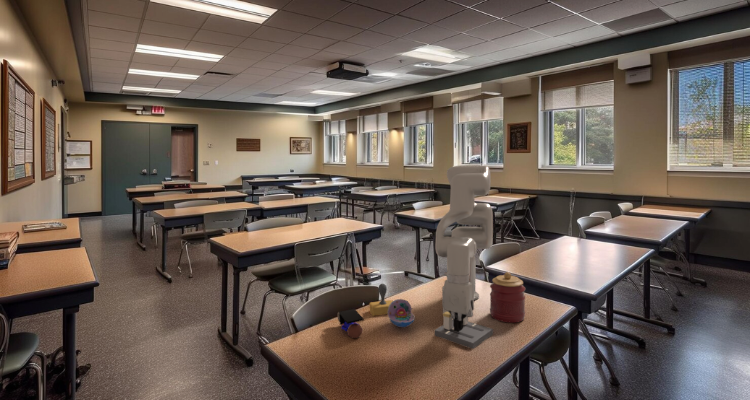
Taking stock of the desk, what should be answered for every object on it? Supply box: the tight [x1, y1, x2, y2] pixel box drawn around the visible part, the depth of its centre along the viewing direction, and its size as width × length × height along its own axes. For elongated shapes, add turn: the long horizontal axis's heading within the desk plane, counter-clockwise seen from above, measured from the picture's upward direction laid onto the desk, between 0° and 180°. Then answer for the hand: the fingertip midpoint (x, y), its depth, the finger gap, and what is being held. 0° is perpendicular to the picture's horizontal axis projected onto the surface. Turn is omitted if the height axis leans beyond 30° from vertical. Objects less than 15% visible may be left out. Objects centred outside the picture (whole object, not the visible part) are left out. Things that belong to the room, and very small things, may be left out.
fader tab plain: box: [463, 317, 469, 325], centre depth 139 cm, size 3×3×5 cm
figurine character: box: [336, 308, 365, 339], centre depth 140 cm, size 7×8×15 cm
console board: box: [434, 319, 494, 350], centre depth 135 cm, size 15×14×2 cm
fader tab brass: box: [442, 312, 453, 330], centre depth 135 cm, size 3×3×5 cm
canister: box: [489, 271, 526, 324], centre depth 150 cm, size 13×13×18 cm
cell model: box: [387, 298, 416, 328], centre depth 144 cm, size 10×12×10 cm
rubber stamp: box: [369, 283, 394, 317], centre depth 157 cm, size 10×6×12 cm, turn 104°
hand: (458, 329), depth 133 cm, fingers closed
